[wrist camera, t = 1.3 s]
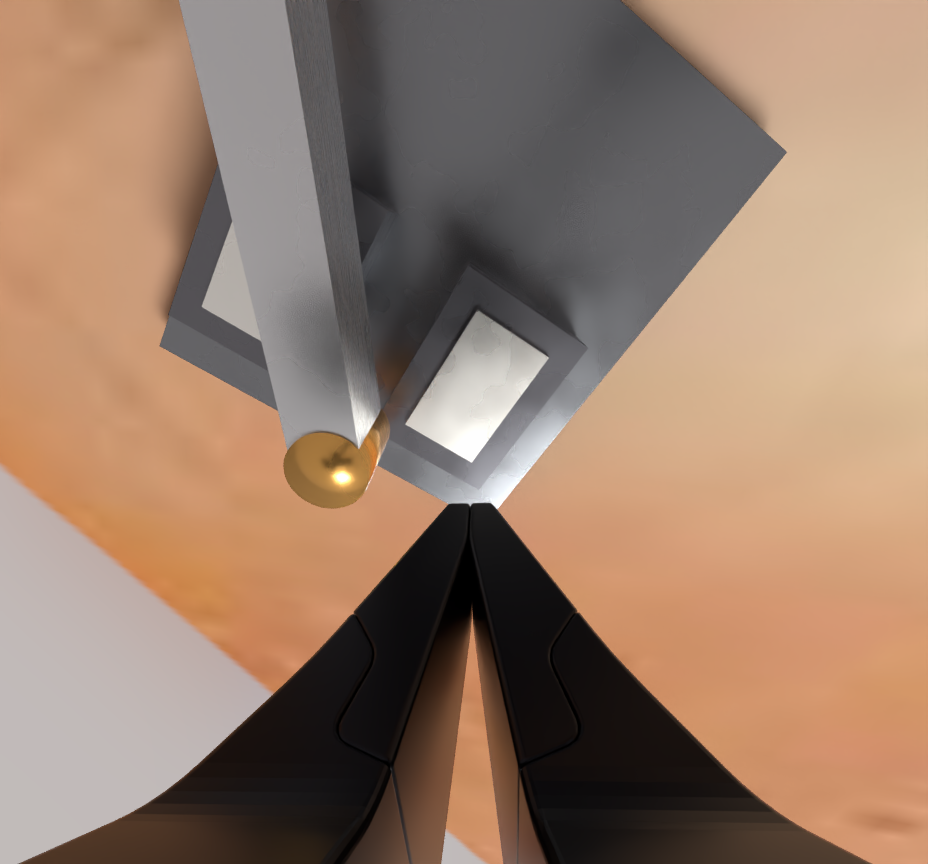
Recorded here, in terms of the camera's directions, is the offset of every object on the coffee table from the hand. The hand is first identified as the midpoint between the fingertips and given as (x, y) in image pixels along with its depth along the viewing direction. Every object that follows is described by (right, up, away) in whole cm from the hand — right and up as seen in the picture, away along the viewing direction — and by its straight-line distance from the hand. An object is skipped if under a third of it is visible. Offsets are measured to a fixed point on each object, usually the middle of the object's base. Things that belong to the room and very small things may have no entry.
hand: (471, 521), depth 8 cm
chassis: (-1, +9, +8) cm, 12 cm away
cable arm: (-4, +9, +3) cm, 10 cm away
